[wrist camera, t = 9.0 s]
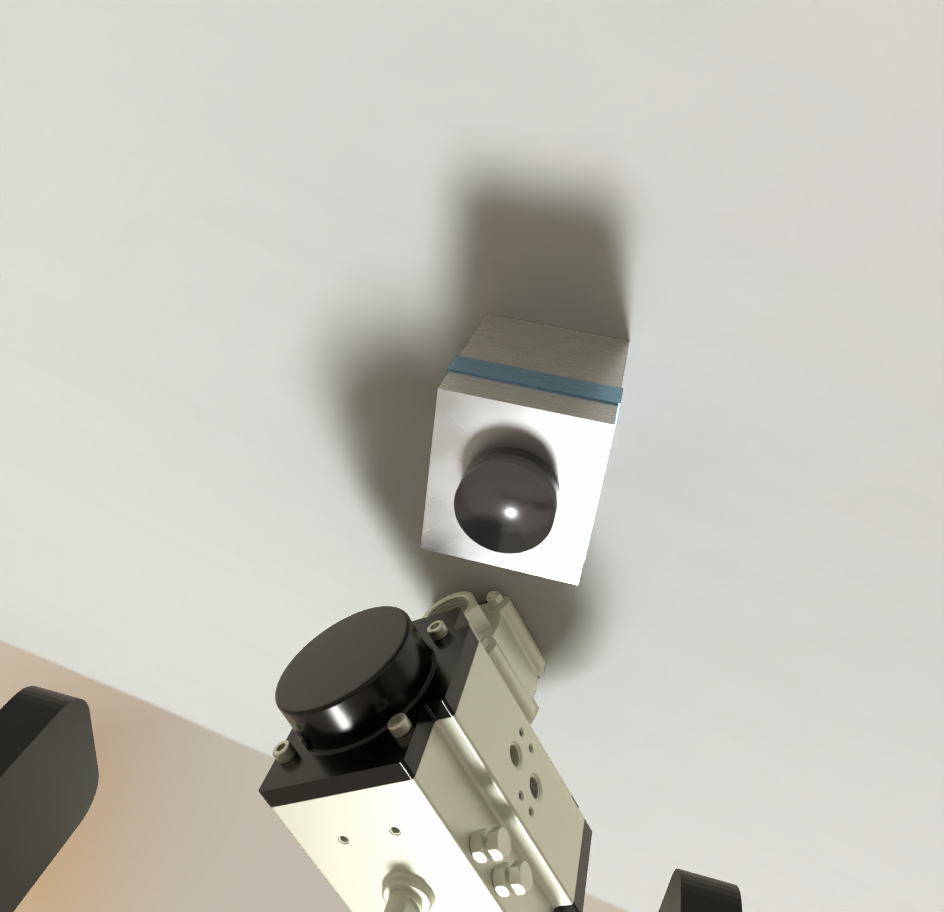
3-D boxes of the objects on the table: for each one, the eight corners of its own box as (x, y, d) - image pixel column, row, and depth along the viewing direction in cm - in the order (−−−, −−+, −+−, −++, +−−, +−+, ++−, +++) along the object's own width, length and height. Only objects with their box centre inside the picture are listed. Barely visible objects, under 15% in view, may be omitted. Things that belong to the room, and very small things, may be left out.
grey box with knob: (631, 339, 26) (613, 442, 20) (599, 480, 28) (574, 609, 22) (485, 311, 26) (425, 402, 20) (467, 451, 29) (408, 570, 23)
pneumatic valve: (503, 754, 35) (427, 1064, 25) (365, 530, 31) (206, 787, 21) (627, 729, 33) (599, 1058, 23) (494, 485, 29) (388, 748, 19)
